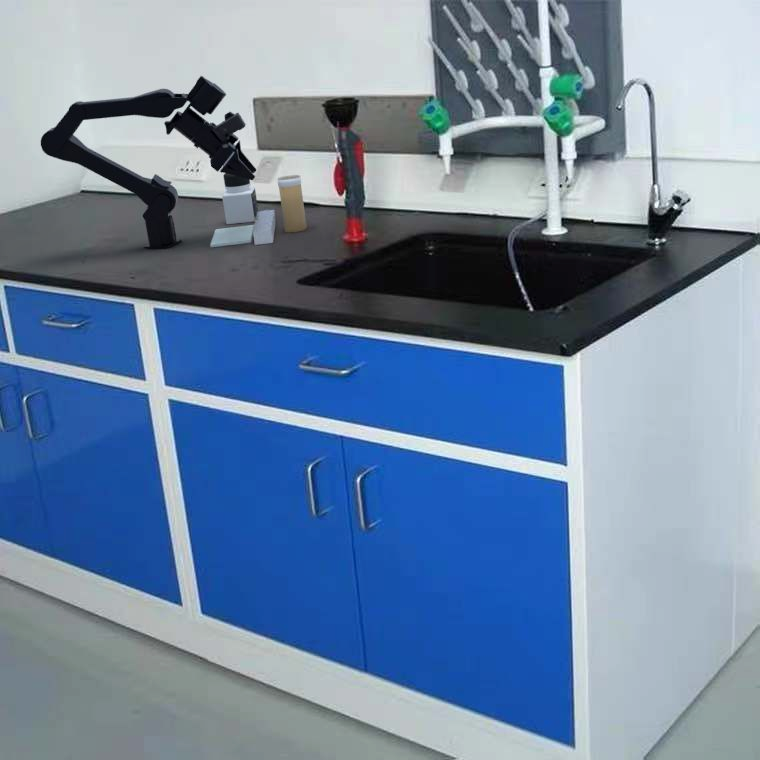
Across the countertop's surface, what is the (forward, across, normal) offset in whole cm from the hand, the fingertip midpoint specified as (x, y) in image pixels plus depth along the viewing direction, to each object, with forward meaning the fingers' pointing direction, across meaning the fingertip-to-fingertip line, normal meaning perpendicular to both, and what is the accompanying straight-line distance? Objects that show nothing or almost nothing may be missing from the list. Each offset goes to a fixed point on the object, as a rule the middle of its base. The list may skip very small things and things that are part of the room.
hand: (254, 175), depth 285 cm
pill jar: (+15, 0, +4) cm, 15 cm away
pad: (+5, 0, +14) cm, 15 cm away
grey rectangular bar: (+10, +1, +9) cm, 13 cm away
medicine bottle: (+6, +18, +13) cm, 23 cm away
